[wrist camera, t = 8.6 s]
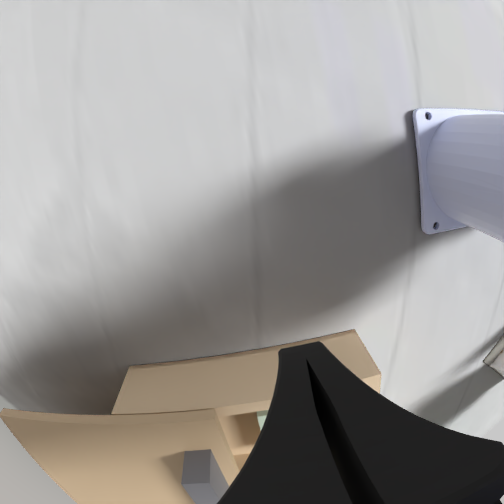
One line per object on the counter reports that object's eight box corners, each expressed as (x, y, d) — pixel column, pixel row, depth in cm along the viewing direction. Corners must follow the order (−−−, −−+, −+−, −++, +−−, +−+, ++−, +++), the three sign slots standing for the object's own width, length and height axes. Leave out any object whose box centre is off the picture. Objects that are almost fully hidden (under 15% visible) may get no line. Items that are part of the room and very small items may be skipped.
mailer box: (354, 329, 21) (381, 373, 16) (352, 434, 25) (367, 475, 20) (129, 365, 21) (111, 413, 16) (179, 460, 25) (174, 503, 20)
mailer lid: (215, 408, 16) (213, 455, 13) (253, 503, 20) (256, 535, 17) (3, 408, 16) (-16, 437, 13) (80, 498, 20) (72, 524, 17)
